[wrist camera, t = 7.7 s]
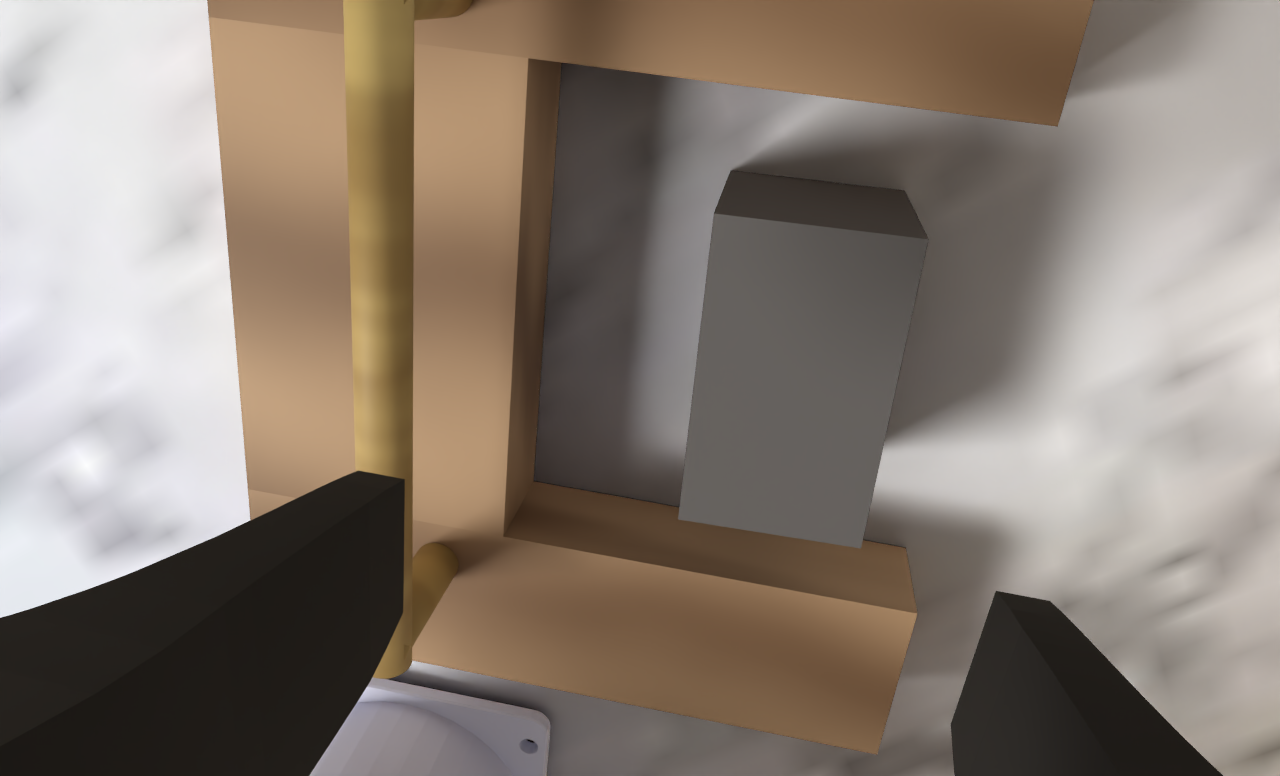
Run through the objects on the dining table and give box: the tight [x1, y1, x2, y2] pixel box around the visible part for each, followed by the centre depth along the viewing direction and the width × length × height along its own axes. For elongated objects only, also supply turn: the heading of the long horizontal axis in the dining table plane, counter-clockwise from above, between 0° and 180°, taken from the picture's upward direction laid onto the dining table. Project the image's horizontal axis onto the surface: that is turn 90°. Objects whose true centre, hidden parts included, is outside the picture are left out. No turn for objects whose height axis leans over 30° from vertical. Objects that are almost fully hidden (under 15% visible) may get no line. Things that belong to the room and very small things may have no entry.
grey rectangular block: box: [678, 171, 929, 548], centre depth 18 cm, size 6×4×4 cm, turn 175°
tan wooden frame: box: [207, 0, 1094, 755], centre depth 18 cm, size 16×15×6 cm
